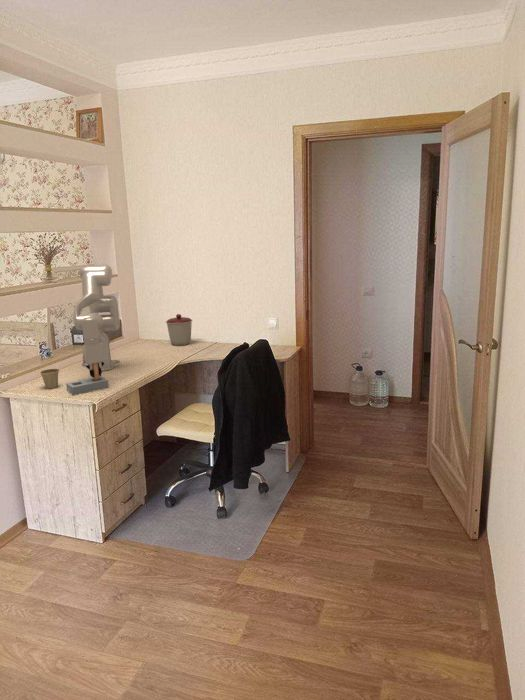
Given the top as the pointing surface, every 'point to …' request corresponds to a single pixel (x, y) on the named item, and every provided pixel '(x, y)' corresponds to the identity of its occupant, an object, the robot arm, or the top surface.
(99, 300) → the robot arm
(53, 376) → the flower pot
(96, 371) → the peg
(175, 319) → the canister
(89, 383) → the socket block
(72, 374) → the top surface
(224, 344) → the top surface
